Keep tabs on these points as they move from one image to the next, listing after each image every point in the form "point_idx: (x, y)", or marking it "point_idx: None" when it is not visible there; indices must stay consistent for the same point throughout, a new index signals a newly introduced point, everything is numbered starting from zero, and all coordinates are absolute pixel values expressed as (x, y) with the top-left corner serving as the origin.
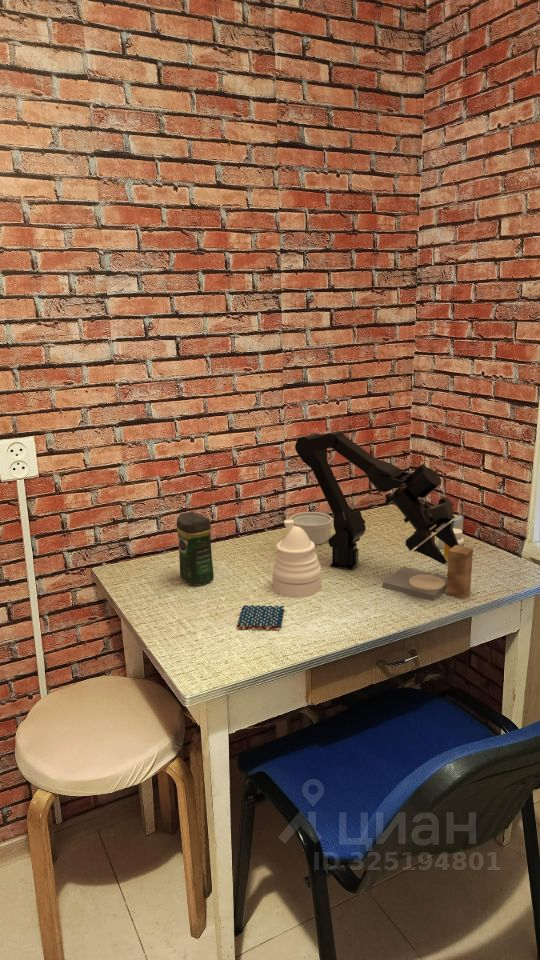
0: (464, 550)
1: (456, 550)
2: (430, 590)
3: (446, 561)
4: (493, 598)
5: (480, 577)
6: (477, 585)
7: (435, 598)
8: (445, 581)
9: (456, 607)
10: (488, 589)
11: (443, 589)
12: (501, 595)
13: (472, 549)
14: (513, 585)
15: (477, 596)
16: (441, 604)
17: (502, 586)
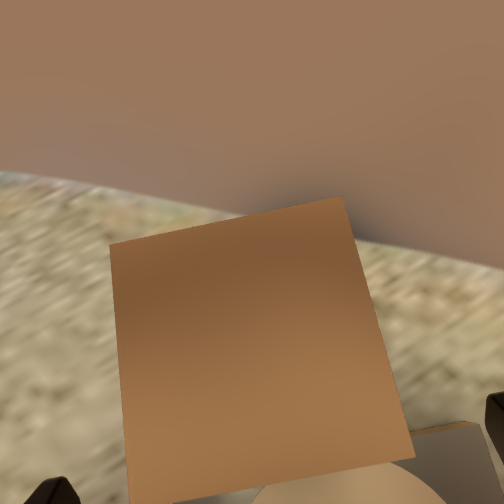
0: (235, 288)
1: (316, 368)
2: (437, 489)
3: (496, 393)
4: (197, 215)
5: (4, 394)
6: (110, 350)
7: (439, 426)
8: (244, 491)
9: (420, 285)
10: None
11: None
12: (143, 207)
13: (128, 243)
14: (7, 224)
15: None
16: (458, 362)
17: (47, 253)
